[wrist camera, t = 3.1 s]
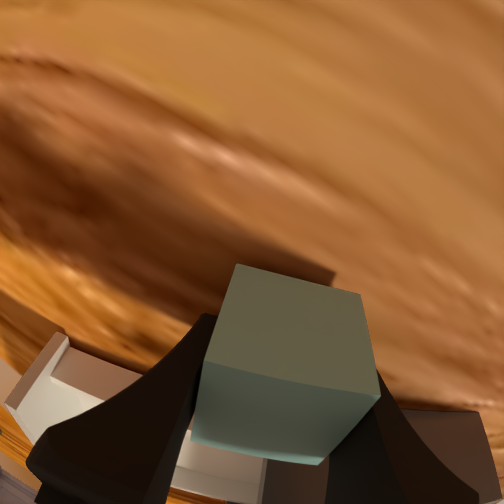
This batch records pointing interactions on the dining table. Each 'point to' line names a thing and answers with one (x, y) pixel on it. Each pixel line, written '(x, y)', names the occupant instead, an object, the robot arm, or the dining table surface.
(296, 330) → the teal block
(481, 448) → the housing
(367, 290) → the dining table surface
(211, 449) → the tray
